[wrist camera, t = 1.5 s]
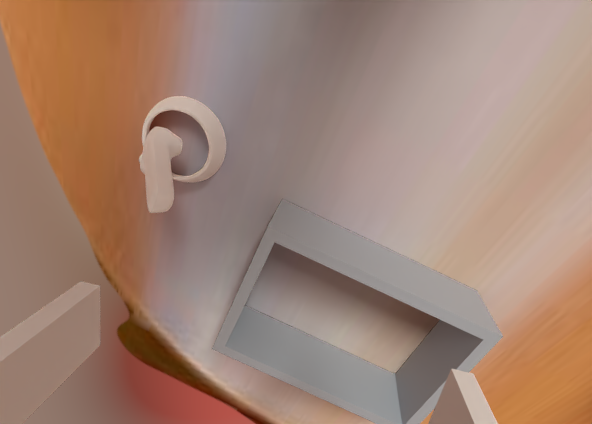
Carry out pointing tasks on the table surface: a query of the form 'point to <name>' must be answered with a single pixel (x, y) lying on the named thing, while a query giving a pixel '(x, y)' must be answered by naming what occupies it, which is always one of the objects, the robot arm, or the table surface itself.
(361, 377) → the well
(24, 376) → the robot arm
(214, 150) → the white ring with handle
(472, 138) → the table surface
